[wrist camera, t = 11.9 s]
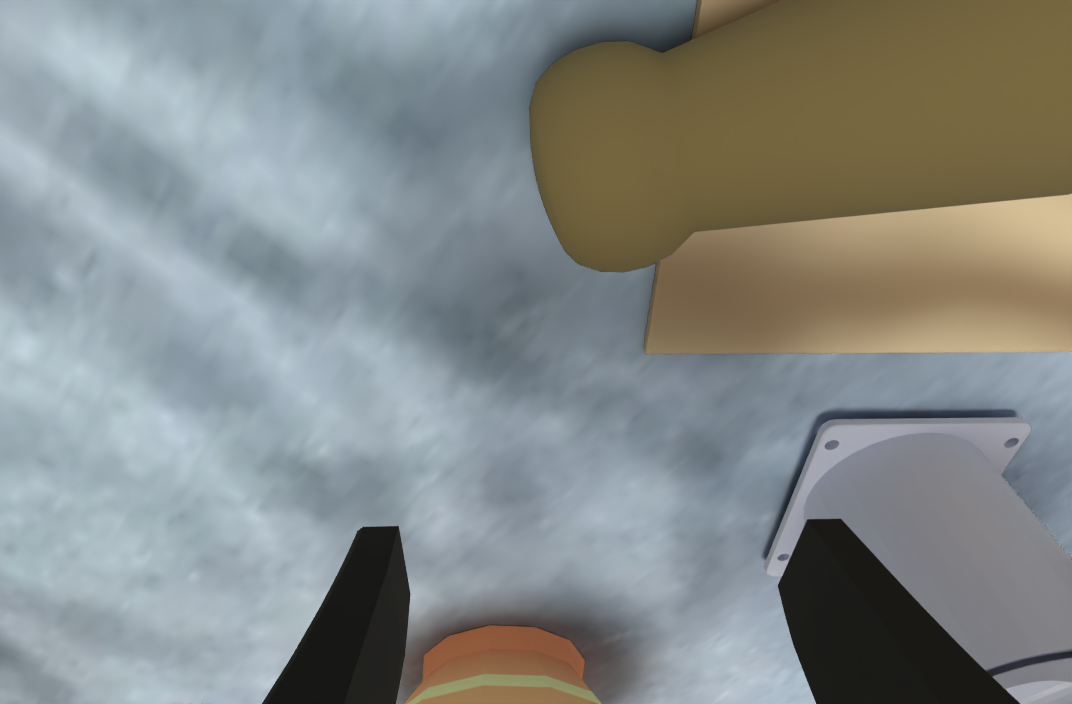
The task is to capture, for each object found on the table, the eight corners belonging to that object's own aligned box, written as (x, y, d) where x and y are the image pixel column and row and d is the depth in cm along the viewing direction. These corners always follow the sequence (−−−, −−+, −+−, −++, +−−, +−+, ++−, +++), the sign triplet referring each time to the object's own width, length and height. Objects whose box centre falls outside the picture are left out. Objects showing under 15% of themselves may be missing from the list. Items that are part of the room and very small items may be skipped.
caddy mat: (1090, 344, 22) (1101, 353, 22) (643, 347, 22) (646, 355, 21) (1636, -450, 11) (1676, -463, 11) (775, -499, 11) (785, -514, 10)
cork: (994, 198, 16) (582, 287, 19) (968, -51, 15) (536, 79, 18) (1181, 189, 10) (550, 321, 13) (1160, -212, 9) (478, 13, 12)
